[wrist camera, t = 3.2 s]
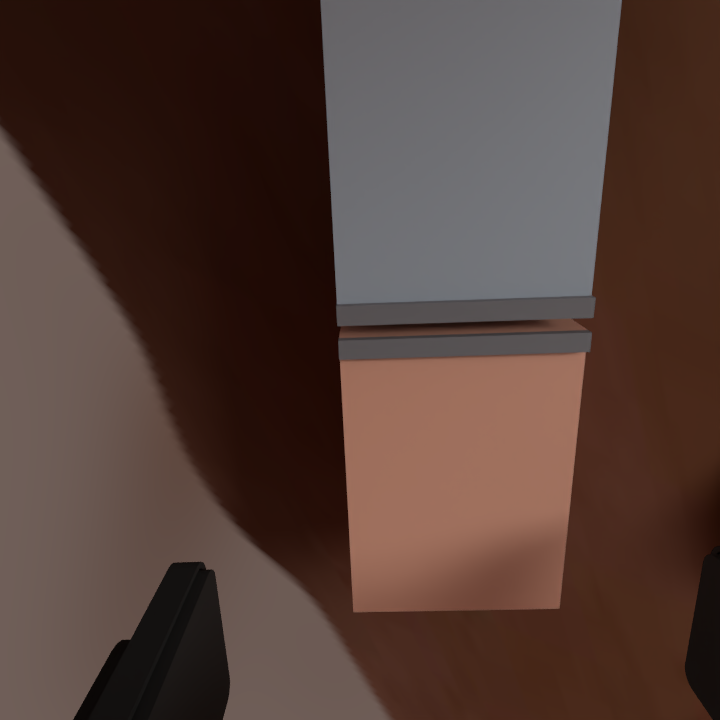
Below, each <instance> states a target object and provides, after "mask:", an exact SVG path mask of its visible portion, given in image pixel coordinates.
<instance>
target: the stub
mask: <svg viewBox="0 0 720 720" xmlns="http://www.w3.org/2000/svg"><path fill="white" fill-rule="evenodd" d="M591 337H592V332H590V331H589V330H587V329H586V328H584V327H583V326H581V325H580V324H578V323H577V322H575V321H573V320H572V319H543V320H512V321H482V322H452V323H422V324H392V325H362V326H341V330H340V334H339V339H338V347H339V360H340V371H341V389H342V408H343V426H344V445H345V463H346V482H347V500H348V519H349V537H350V556H351V575H352V593H353V612H395V611H454V610H513V609H559V607H560V597H561V587H562V577H563V568H564V558H565V548H566V538H567V529H568V519H569V509H570V500H571V490H572V480H573V470H574V461H575V451H576V441H577V431H578V422H579V412H580V402H581V392H582V383H583V373H584V363H585V354H586V352H590V346H591Z"/></svg>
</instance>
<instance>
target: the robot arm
mask: <svg viewBox="0 0 720 720" xmlns="http://www.w3.org/2000/svg"><path fill="white" fill-rule="evenodd" d="M685 672H686V676H687V680H688V682H689V685H690V686H691V688H692V690H693V691H694V693H695V694H696V696H697V697H698V699H699V700H700V702H701V703H702V704H703V706H704V707H705V709H706V710H707V712H708V713H709V715H710V716H711V718H712V719H713V720H720V546H717V547H715V548H714V549H713V550H712V552H711V554H710V555H707V556H706V557H705V558H704V561H703V566H702V572H701V578H700V583H699V589H698V595H697V600H696V606H695V612H694V617H693V623H692V628H691V634H690V640H689V645H688V651H687V657H686V662H685ZM229 688H230V678H229V670H228V662H227V655H226V649H225V642H224V635H223V627H222V620H221V614H220V607H219V599H218V591H217V584H216V578H215V572H214V571H213V570H206V568H205V565H204V563H203V562H187V563H186V562H183V563H173V564H171V566H170V567H169V569H168V571H167V572H166V574H165V576H164V578H163V580H162V582H161V584H160V585H159V587H158V589H157V591H156V593H155V595H154V597H153V599H152V601H151V602H150V604H149V606H148V608H147V610H146V612H145V614H144V616H143V617H142V619H141V621H140V623H139V625H138V627H137V629H136V631H135V633H134V635H133V636H132V638H131V640H121V641H120V642H119V643H117V645H116V646H115V647H114V649H113V650H112V651H111V653H110V655H109V657H108V659H107V661H106V663H105V664H104V666H103V667H102V669H101V671H100V673H99V675H98V677H97V678H96V680H95V682H94V684H93V685H92V687H91V689H90V691H89V692H88V694H87V696H86V698H85V700H84V701H83V703H82V705H81V707H80V709H79V710H78V712H77V714H76V716H75V717H74V719H73V720H223V716H224V713H225V709H226V705H227V701H228V697H229Z"/></svg>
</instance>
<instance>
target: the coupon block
mask: <svg viewBox="0 0 720 720" xmlns="http://www.w3.org/2000/svg"><path fill="white" fill-rule="evenodd" d="M621 3H622V0H321V18H322V37H323V55H324V74H325V92H326V111H327V130H328V148H329V167H330V185H331V204H332V222H333V241H334V259H335V278H336V296H337V303H336V315H337V326H362V325H392V324H422V323H452V322H482V321H512V320H543V319H573V318H594V309H595V299H596V297H594V296H591V295H592V285H593V276H594V266H595V256H596V246H597V237H598V227H599V217H600V208H601V198H602V188H603V178H604V169H605V159H606V149H607V139H608V130H609V120H610V110H611V100H612V91H613V81H614V71H615V62H616V52H617V42H618V32H619V23H620V13H621Z"/></svg>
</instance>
